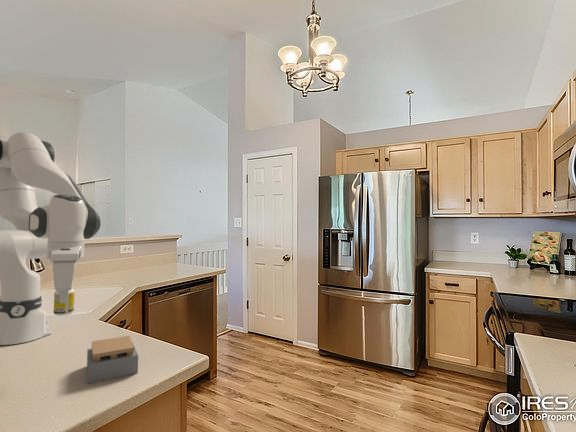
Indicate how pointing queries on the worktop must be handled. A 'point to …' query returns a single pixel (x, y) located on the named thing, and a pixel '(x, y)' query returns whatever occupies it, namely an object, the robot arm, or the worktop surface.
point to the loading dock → (111, 359)
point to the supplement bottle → (64, 307)
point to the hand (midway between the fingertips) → (64, 300)
